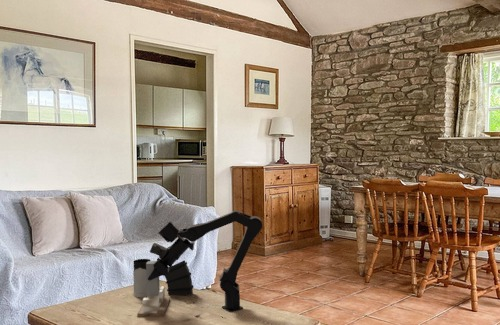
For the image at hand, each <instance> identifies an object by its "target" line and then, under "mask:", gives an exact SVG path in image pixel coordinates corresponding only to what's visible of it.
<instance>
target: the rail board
mask: <svg viewBox="0 0 500 325" xmlns="http://www.w3.org/2000/svg"><path fill="white" fill-rule="evenodd" d="M159 286H160V285H159ZM165 289H166V288H165V286H163V285H161V286H160V293H159V295H158V296H146V297H142V303H141V304H142V305H141V306H140V308H139V310H138V311H137V315H136V316H137V318H138V317H139V318H140V317H164V315H165V312H166V310H167V308H168V305H169V303H170V301H171V296H166V290H165Z"/></svg>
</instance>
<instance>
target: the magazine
mask: <svg viewBox="0 0 500 325" xmlns="http://www.w3.org/2000/svg"><path fill="white" fill-rule="evenodd" d="M168 267H169V266H168ZM164 278H165V280H166V281H165V284H166V285H167V289H166V291H167V294H168V295H169V296H170V295H175V296H177V295H178V296H192V295H193V294H194V292H193V291H194V290H193V289H194V284H193V281H192V279H193V278H192V272H190V269H189V266H188V261H186V260H182V261H180V262H178V263H174V264H173V265H172V266H171V267H169V272H168V273H167V274H166V275H165V276H164Z"/></svg>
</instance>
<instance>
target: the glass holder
mask: <svg viewBox="0 0 500 325" xmlns="http://www.w3.org/2000/svg"><path fill="white" fill-rule="evenodd" d="M148 261H152V260H151V259H150V258H138V259H135V260H133V272H132V273H133V275H132V276H133V292H132V295H133V297H138V298H146V297H147V280H146V263H147V262H148Z"/></svg>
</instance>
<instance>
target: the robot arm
mask: <svg viewBox="0 0 500 325" xmlns="http://www.w3.org/2000/svg"><path fill="white" fill-rule="evenodd" d="M235 222H236V223H238V224H240V225H242V226H244V227H245V231H244V234H243V238H242V239H241V241H240V244H239V246H238V248H237V250H236V252H235V254H234V256H233V259H232V261H231V263H230V265H229V267H227V268H225V267H223V270H222V273H221V274H220V276H219V287H220V289H221V290H222V291H223V292H224V305H222V306H221V309H224V310H226V311H228V312H234V311H235V312H236V311H239V310H242V309H244V306H242V305H241V300H240V299H241V297H240V296H241V295H240V285H239V284H238V283H237V276H238V272H239V270H240V268H241V266H242V263H243V261H244V260H245V257H246V256H247V253H248V251H249V248H250V246H251V245H252V242H253V241H254V239H255V238H256V237H257V236H258V235H259V233H260V232H261V230H262V229H263V222H262V220H261V218H260V217H259V216H257V215H252V216H251V215H249V214H246V213H242V212H241V211H238V210H237V209H236V210H232V211H231V212H229V213H227V214H224V215H222V216H221V215H220V216H219V217H217V218H214V219H211V220H209V221H206V222H203V223H201V222H200V223H196V224H191V225H190V226H187V227H185V228H181V229H179V228H178V227H177V226H176V225H175V224H174V223H173V222H172V221H170V220H169V222H168V223H167V224H166V225H164V226H163V227H162V228H161V229H160V230H159V231H158V235H159V236H160V237H162V238H163V239H164V241H166V242H167V243H172V244H171V245H170V246H168V247H165V246H163V245H161V244H158V243H156V242H153V243H152V244H151V245H152V246H151V248H150V250H149V253H151V254H154V255H157V256H158V258H157V259H156V260H155V261H156V262H155V263H154V264H153V266H154V270H153V271H152V273H151V274H150V276H149V277H148V280H149V281H150V280H152V279H155V278H157V277H159V278H160V277H161V276H163V277H165V275H166V274H167V273H168V272H169V267H171V266H173V265H175V263H176V261H178V260H179V259H180V258H181V257H182V256H183V254H185V252H186V251H187V250H188V249H190V250H191V251H194V249H195V247H194V246H195V243H194V242H196V241H198V240H200V239H201V238H203V237H204V236H206V234H209V233H210V232H213V231H215V230H217V229H220V228H222V227H224V226H227V225H229V224H232V223H235Z"/></svg>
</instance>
